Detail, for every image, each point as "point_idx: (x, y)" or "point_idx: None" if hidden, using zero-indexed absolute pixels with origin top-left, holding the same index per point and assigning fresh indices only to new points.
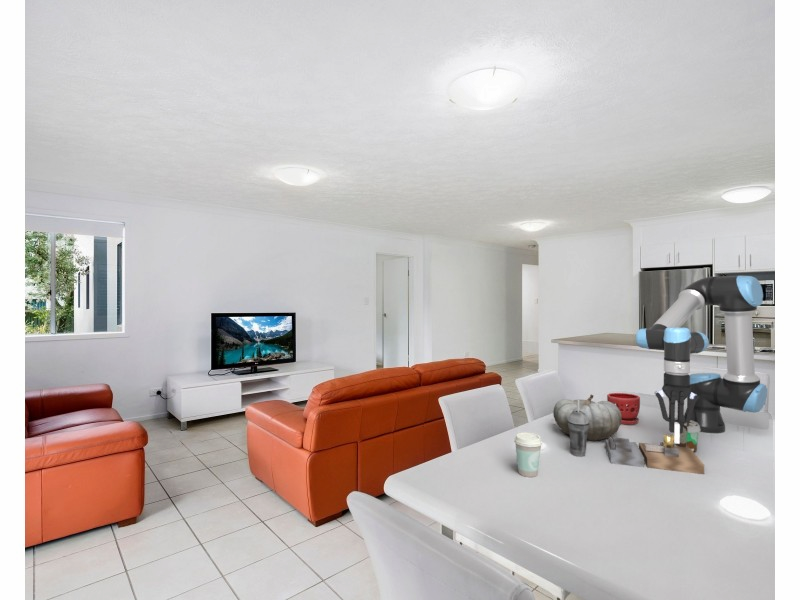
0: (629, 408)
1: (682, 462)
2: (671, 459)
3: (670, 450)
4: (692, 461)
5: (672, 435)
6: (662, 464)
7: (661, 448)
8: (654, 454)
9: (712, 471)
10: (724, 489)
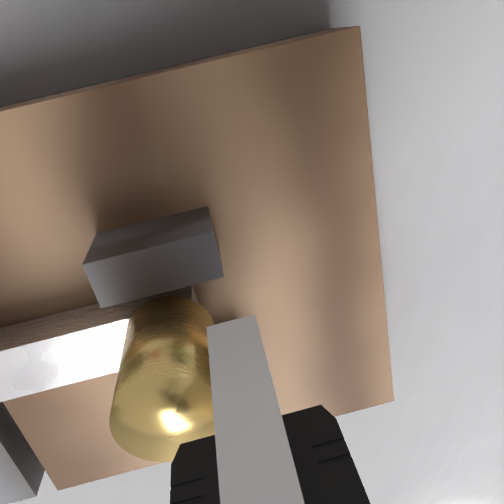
0: None
1: None
2: None
3: None
4: (332, 384)
5: (210, 369)
6: None
7: (118, 367)
8: (82, 397)
9: (426, 289)
10: (417, 478)
